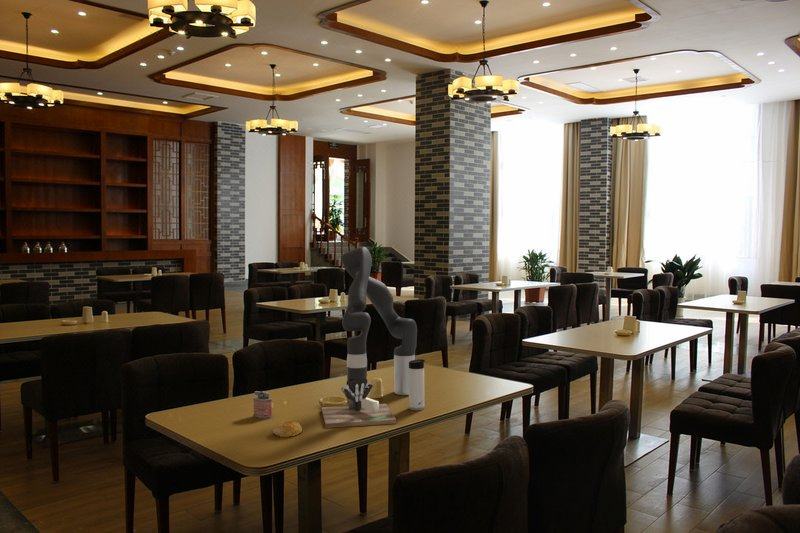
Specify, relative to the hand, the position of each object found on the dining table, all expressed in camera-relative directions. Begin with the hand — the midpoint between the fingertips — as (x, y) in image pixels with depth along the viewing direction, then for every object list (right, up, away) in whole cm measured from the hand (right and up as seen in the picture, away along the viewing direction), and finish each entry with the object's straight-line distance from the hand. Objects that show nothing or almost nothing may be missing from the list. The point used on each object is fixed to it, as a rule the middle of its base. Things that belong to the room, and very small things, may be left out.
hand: (357, 410), depth 246 cm
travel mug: (+23, -3, +18) cm, 29 cm away
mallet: (+2, -2, +8) cm, 8 cm away
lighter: (-37, -4, +8) cm, 38 cm away
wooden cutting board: (0, -4, +6) cm, 7 cm away
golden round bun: (-24, -6, -13) cm, 28 cm away
